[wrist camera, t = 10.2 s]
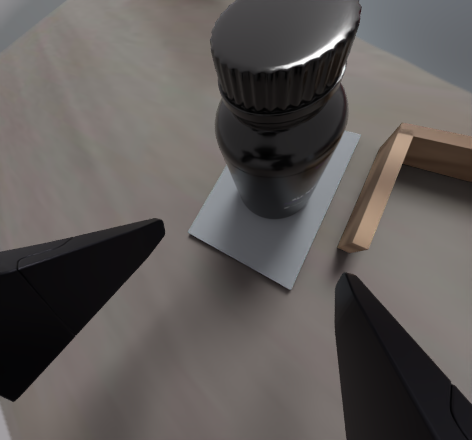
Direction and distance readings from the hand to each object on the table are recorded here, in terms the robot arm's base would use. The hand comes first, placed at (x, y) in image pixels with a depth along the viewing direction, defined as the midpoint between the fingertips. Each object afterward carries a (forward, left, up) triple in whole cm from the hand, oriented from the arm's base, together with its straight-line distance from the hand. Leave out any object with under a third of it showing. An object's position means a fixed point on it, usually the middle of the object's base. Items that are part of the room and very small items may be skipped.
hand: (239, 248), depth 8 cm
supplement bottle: (+7, +1, -8) cm, 10 cm away
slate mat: (+7, +2, -8) cm, 11 cm away
